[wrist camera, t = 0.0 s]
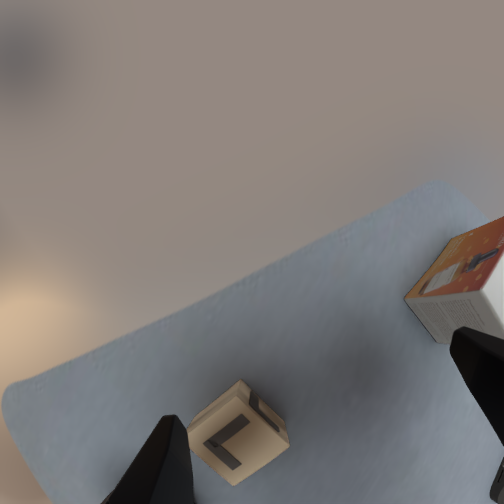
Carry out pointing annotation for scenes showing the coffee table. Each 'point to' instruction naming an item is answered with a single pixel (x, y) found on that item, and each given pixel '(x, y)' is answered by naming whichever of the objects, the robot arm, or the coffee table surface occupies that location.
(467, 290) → the small box
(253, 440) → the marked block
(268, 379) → the coffee table surface
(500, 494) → the media streaming box
